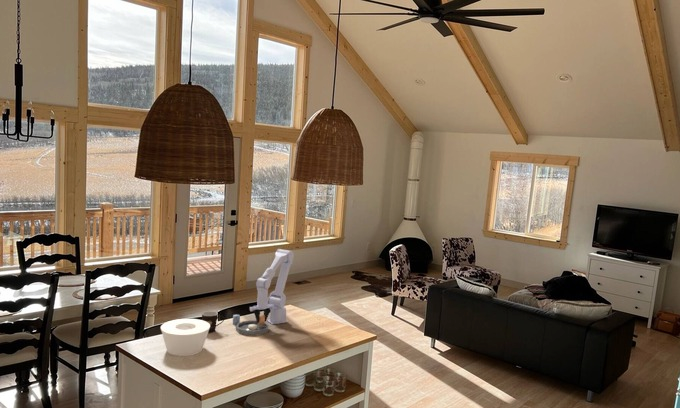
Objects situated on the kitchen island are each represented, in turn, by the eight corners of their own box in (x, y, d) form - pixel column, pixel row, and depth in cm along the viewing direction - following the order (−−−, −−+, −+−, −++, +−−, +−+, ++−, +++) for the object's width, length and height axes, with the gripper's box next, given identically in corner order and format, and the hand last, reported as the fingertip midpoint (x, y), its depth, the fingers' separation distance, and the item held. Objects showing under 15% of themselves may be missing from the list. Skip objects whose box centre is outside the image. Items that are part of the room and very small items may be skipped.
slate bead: (238, 322, 306) (238, 314, 306) (240, 324, 303) (240, 316, 302) (231, 323, 304) (232, 314, 303) (234, 325, 301) (234, 317, 300)
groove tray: (260, 323, 307) (261, 319, 307) (273, 333, 292) (273, 328, 292) (231, 326, 298) (232, 322, 298) (243, 337, 283) (243, 332, 282)
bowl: (218, 351, 261) (218, 328, 259) (172, 362, 244) (173, 338, 243) (195, 337, 278) (196, 315, 277) (151, 346, 262) (152, 323, 260)
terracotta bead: (262, 322, 300) (263, 314, 300) (265, 324, 297) (266, 316, 296) (256, 323, 298) (256, 315, 297) (259, 325, 295) (259, 317, 294)
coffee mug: (198, 332, 286) (198, 314, 285) (206, 327, 294) (207, 310, 293) (216, 335, 283) (217, 317, 282) (224, 330, 291) (225, 313, 290)
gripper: (270, 295, 303) (269, 317, 305) (247, 298, 295) (246, 321, 297) (276, 298, 297) (275, 321, 299) (252, 301, 289) (251, 324, 291)
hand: (261, 321), depth 297 cm, fingers closed on terracotta bead, 4 cm apart
